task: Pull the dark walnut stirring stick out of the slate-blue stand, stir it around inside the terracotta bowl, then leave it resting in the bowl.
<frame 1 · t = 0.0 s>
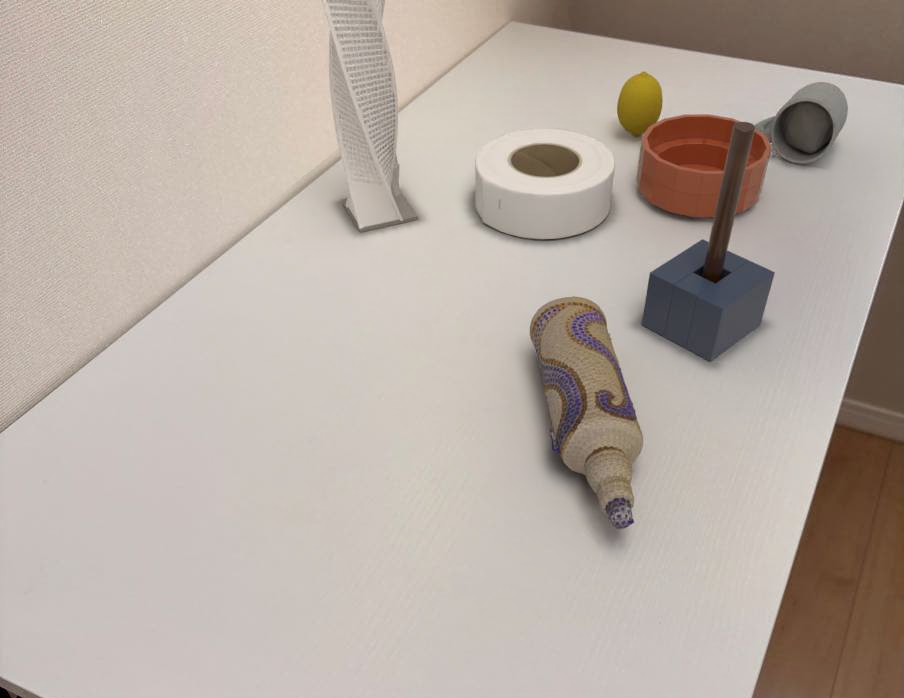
ceramic mug: (791, 150, 118), on the table
skyscraper: (377, 216, 109), on the table
stick: (720, 234, 86), in the stand
tape roll: (541, 206, 110), on the table
stand: (700, 324, 94), on the table
bowl: (696, 192, 111), on the table
decorative bottle: (576, 436, 83), on the table
lemon: (635, 138, 121), on the table
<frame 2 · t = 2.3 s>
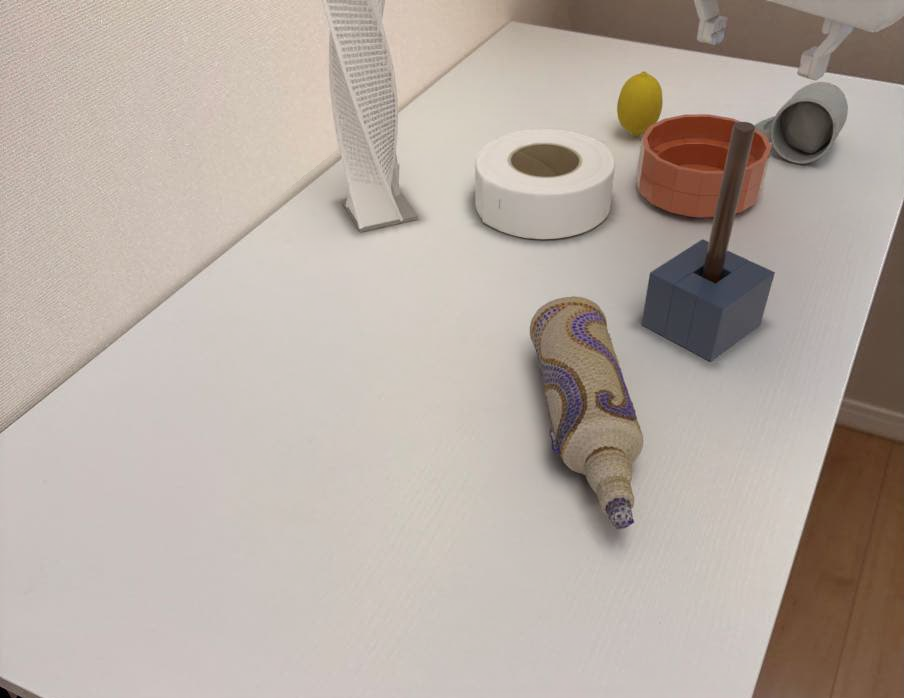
hand: (758, 58, 75), 25 cm above the table, tool pointing down, fingers open, 8 cm apart
nothing on the table moved.
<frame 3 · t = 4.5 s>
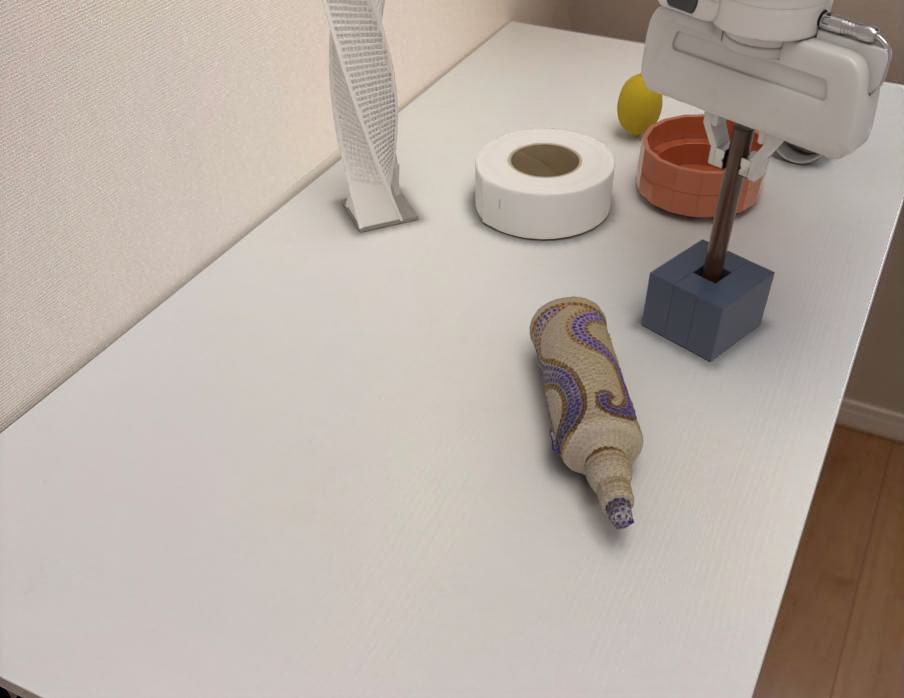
hand: (734, 170, 82), 16 cm above the table, tool pointing down, fingers closed on stick, 2 cm apart
stick: (720, 234, 86), in the stand, touching gripper
everything else where it was.
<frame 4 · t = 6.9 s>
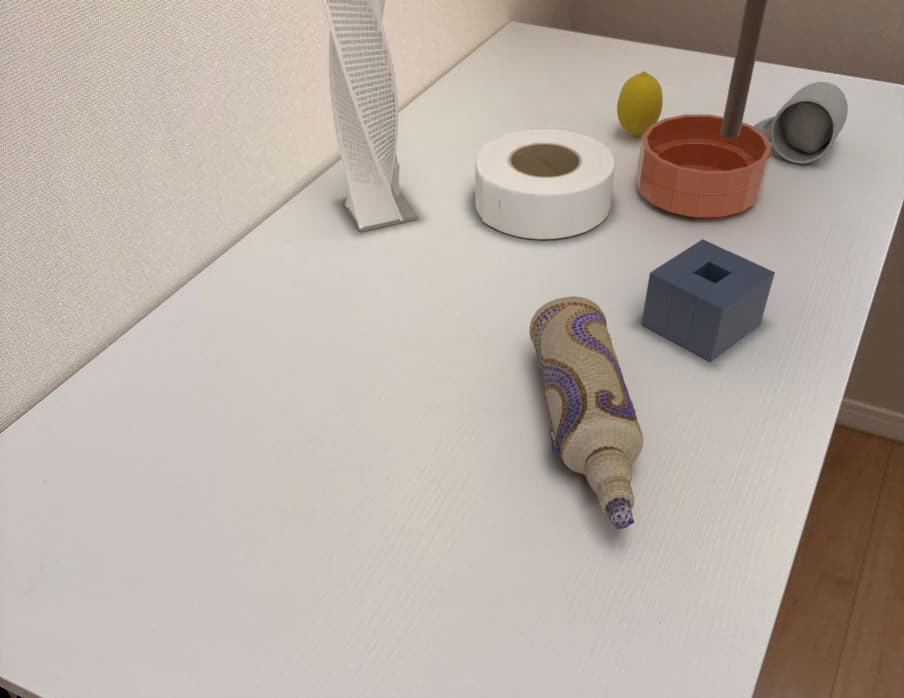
stick: (752, 21, 82), point 25 cm above the table, touching gripper
everything else where it was.
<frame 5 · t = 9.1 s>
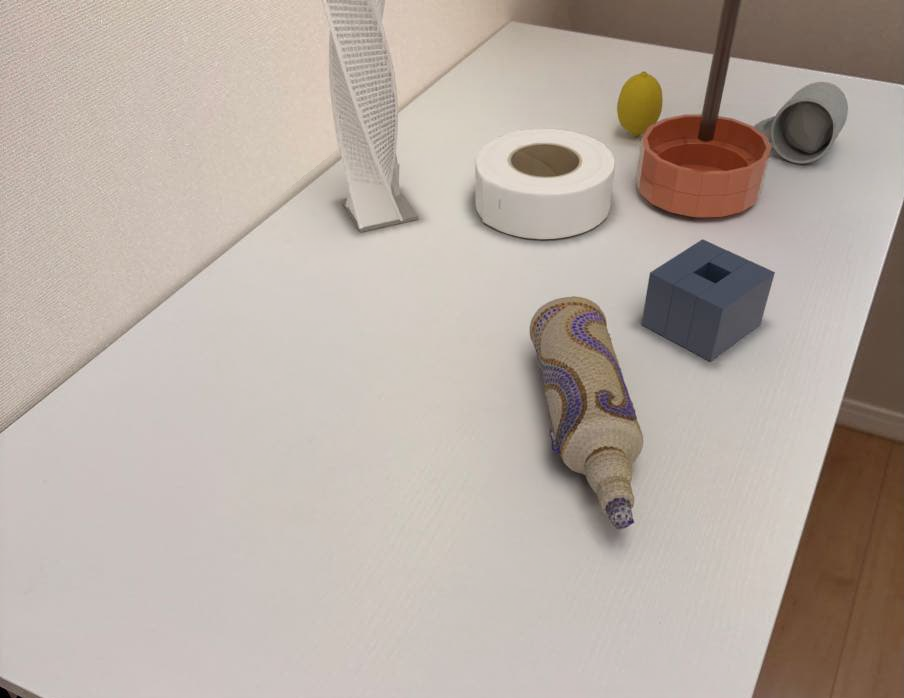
stick: (723, 44, 98), point 16 cm above the table, touching gripper
everything else where it was.
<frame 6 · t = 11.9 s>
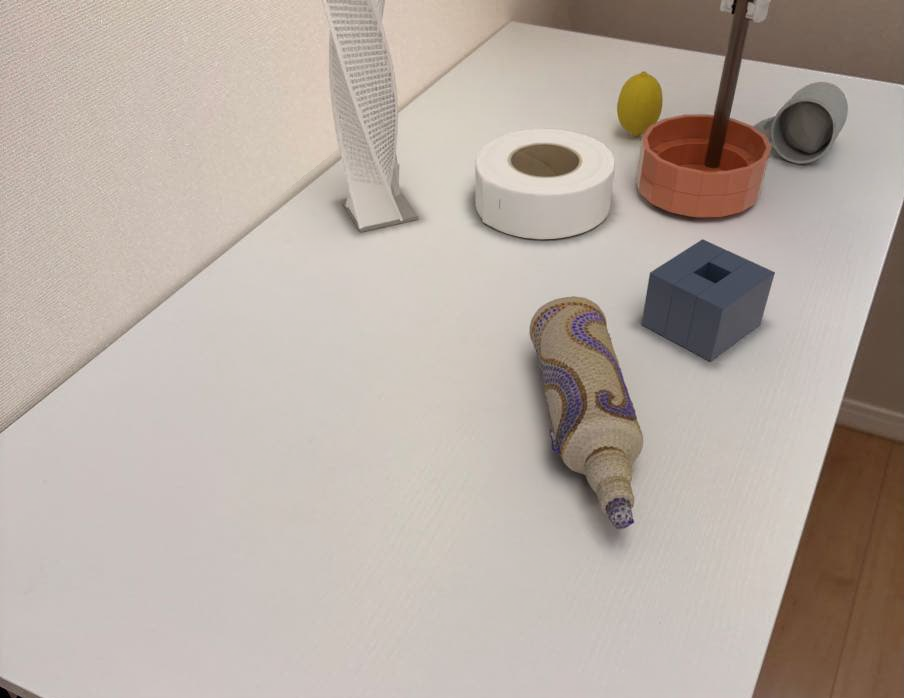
hand: (742, 15, 98), 19 cm above the table, tool pointing down, fingers closed on stick, 2 cm apart
stick: (729, 76, 102), point 13 cm above the table, touching gripper
everything else where it was.
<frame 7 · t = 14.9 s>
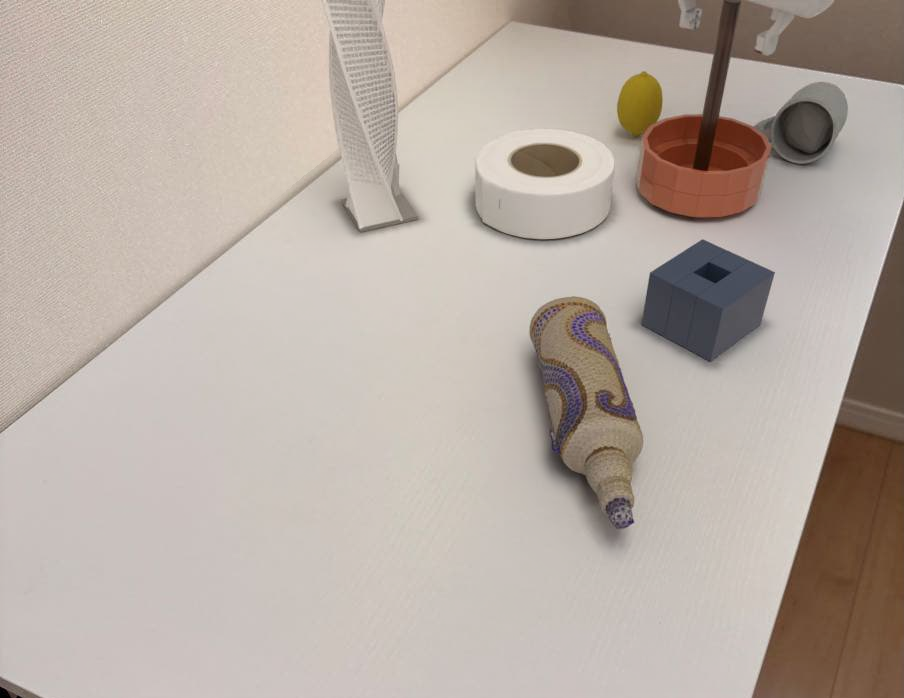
hand: (725, 39, 98), 17 cm above the table, tool pointing down, fingers open, 8 cm apart
stick: (713, 99, 103), in the bowl, point 11 cm above the table
everything else where it was.
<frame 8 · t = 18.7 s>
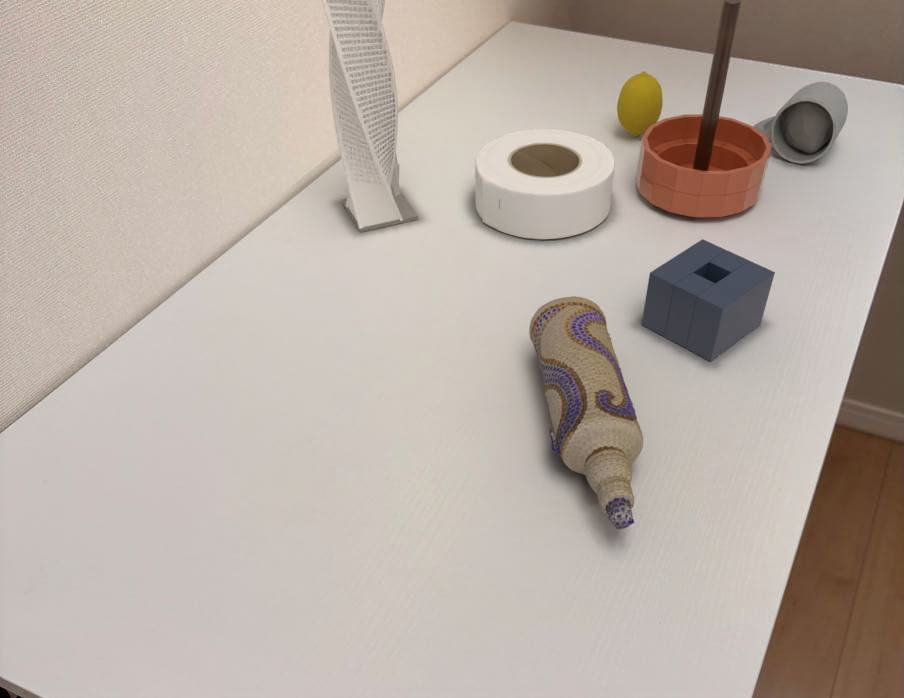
nothing on the table moved.
at the end: stick inside the target area in the bowl (0.1 cm from its centre), point 10.8 cm above the bowl's base; the gripper is holding nothing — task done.
